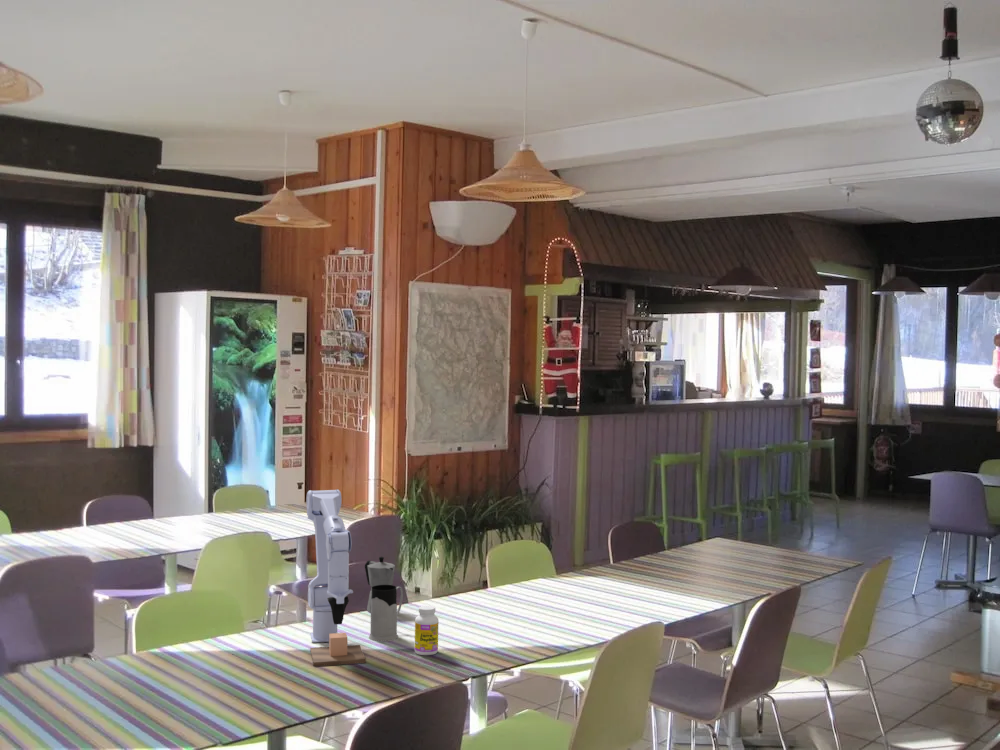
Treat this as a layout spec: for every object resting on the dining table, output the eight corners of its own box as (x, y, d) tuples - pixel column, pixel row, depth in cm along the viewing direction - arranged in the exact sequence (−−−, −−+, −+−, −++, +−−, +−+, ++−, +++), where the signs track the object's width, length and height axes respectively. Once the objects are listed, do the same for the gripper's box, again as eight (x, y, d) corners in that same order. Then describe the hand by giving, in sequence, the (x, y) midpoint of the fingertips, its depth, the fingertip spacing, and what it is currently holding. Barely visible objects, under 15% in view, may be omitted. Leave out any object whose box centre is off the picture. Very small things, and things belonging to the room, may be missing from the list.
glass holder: (362, 638, 289) (363, 588, 288) (389, 627, 301) (390, 579, 301) (387, 643, 284) (387, 592, 284) (413, 631, 297) (414, 582, 297)
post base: (310, 651, 275) (310, 633, 275) (359, 648, 279) (360, 630, 279) (313, 666, 262) (313, 646, 262) (365, 662, 265) (365, 643, 265)
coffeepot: (404, 612, 321) (404, 557, 321) (381, 616, 314) (382, 561, 314) (376, 603, 332) (377, 551, 332) (353, 607, 325) (354, 554, 325)
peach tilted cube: (329, 651, 272) (329, 633, 272) (345, 650, 273) (345, 632, 273) (330, 656, 267) (330, 638, 267) (347, 655, 269) (347, 637, 268)
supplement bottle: (416, 656, 271) (417, 611, 271) (412, 650, 278) (413, 605, 278) (440, 655, 273) (440, 609, 273) (435, 648, 279) (436, 604, 279)
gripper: (355, 580, 264) (354, 629, 264) (350, 569, 278) (349, 616, 278) (329, 581, 262) (328, 631, 262) (325, 570, 276) (324, 617, 276)
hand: (337, 623), depth 270 cm, fingers closed
